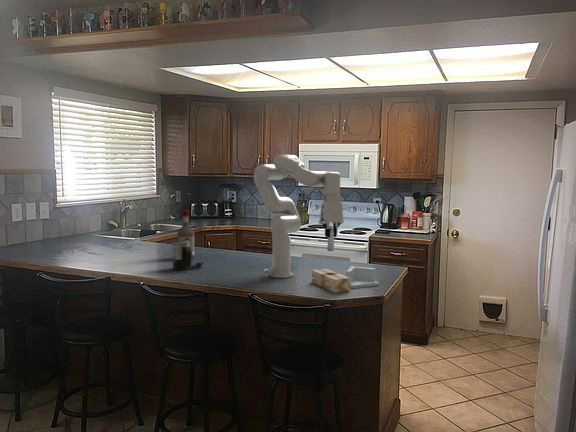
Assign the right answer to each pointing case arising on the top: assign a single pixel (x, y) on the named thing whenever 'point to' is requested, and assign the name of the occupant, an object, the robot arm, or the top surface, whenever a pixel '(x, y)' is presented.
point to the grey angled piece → (361, 277)
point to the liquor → (186, 233)
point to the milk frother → (182, 256)
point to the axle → (331, 240)
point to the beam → (331, 280)
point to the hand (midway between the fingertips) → (330, 236)
